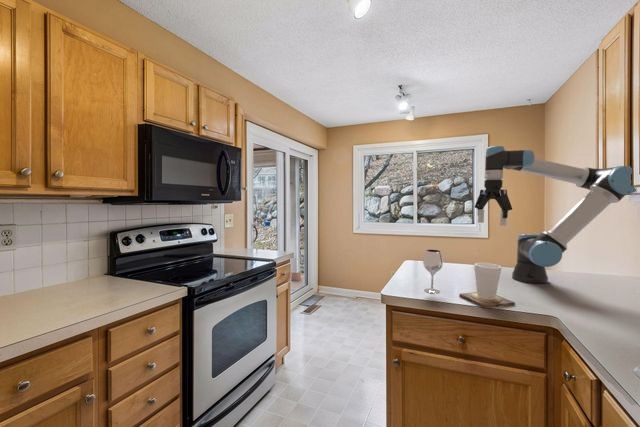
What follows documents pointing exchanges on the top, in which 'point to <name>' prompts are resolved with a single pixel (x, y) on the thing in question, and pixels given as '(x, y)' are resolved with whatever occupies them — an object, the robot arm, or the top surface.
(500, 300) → the stand board
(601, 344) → the top surface
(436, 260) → the wineglass
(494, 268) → the foam cup
